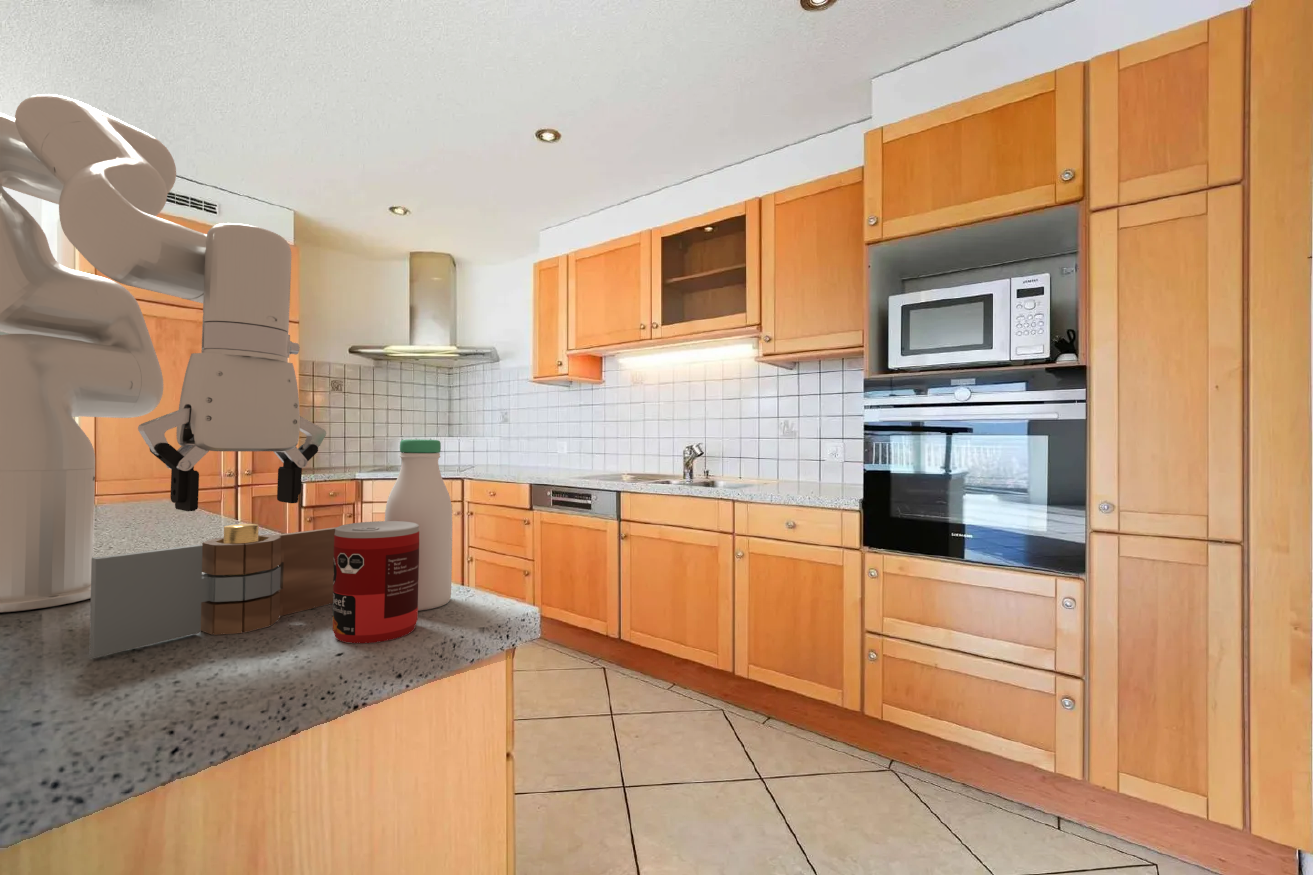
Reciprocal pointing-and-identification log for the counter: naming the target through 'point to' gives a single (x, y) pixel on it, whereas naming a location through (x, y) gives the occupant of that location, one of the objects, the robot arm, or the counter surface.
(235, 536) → the hinge pin
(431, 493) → the milk bottle
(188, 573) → the hinge leaf swing
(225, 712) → the counter surface
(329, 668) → the counter surface
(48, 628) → the counter surface
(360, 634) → the canned food
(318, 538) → the hinge leaf fixed
